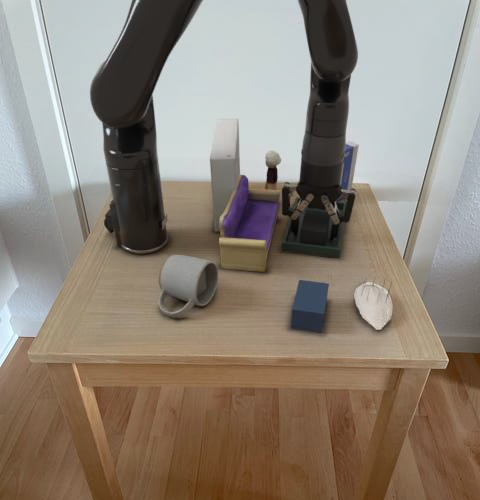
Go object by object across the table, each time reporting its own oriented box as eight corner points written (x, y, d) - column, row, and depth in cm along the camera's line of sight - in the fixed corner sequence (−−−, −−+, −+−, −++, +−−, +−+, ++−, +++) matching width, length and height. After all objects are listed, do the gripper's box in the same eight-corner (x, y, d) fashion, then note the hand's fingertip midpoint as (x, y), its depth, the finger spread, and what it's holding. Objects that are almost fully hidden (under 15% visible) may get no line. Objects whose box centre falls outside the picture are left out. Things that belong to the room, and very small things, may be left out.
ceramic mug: (180, 277, 90) (176, 242, 85) (220, 289, 87) (218, 253, 82) (147, 312, 83) (141, 276, 78) (190, 326, 80) (185, 289, 75)
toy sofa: (265, 275, 90) (266, 226, 84) (219, 270, 92) (217, 221, 85) (279, 218, 106) (282, 173, 99) (240, 215, 107) (240, 170, 100)
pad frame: (338, 258, 94) (340, 249, 93) (281, 251, 96) (281, 242, 95) (345, 210, 109) (346, 202, 107) (295, 205, 110) (296, 196, 109)
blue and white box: (330, 204, 111) (337, 152, 103) (320, 200, 112) (326, 148, 104) (351, 193, 115) (360, 142, 107) (342, 189, 116) (349, 139, 108)
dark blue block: (321, 332, 79) (324, 313, 76) (290, 328, 80) (292, 309, 77) (326, 302, 85) (329, 283, 82) (297, 298, 85) (299, 279, 83)
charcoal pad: (324, 250, 96) (326, 232, 93) (298, 247, 97) (300, 229, 94) (328, 229, 102) (330, 212, 99) (304, 226, 102) (305, 209, 100)
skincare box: (217, 185, 118) (216, 117, 107) (240, 186, 118) (241, 118, 107) (211, 232, 102) (209, 157, 91) (238, 232, 102) (238, 158, 91)
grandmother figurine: (261, 198, 113) (263, 144, 104) (278, 198, 113) (281, 144, 104) (261, 215, 107) (262, 159, 99) (278, 215, 107) (282, 159, 99)
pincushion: (396, 333, 79) (404, 305, 75) (358, 331, 79) (364, 304, 75) (383, 287, 88) (390, 260, 84) (349, 286, 88) (354, 260, 84)
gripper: (364, 150, 89) (351, 230, 100) (286, 144, 92) (281, 222, 103) (362, 168, 84) (348, 250, 95) (279, 160, 86) (275, 241, 97)
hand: (313, 235), depth 99 cm, fingers open, 6 cm apart
